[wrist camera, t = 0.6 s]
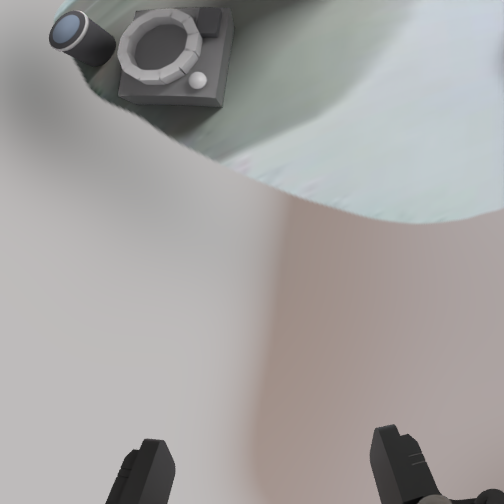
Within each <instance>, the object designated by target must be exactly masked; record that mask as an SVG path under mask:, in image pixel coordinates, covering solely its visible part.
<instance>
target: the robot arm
mask: <svg viewBox="0 0 504 504" xmlns="http://www.w3.org/2000/svg"><path fill="white" fill-rule="evenodd" d="M370 463H371V467H372V471H373V474H374V478H375V481H376V485H377V488H378V492H379V496H380V500H381V503H382V504H504V493H503V492H502V491H500V490H498V489H489V490H486V491H484V492H482V493H481V494H480V495H479V496H478V497H477V498H474V499H466V500H451V499H448V498H447V497H445V496H443V495H442V494H441V493H440V492H439V490H438V488H437V486H436V484H435V481H434V479H433V476H432V474H431V472H430V469H429V467H428V465H427V463H426V462H425V458H424V456H423V454H422V451H421V449H420V447H419V445H418V442H417V441H416V440H415V439H414V438H412V437H411V436H410V435H409V434H406V435H402V436H400V434H399V432H398V430H397V428H396V426H395V425H394V424H393V425H388V426H384V427H379V428H375V430H374V435H373V440H372V444H371V450H370ZM174 477H175V463H174V461H173V458H172V456H171V454H170V452H169V449H168V447H167V445H166V443H165V441H164V440H156V439H144V441H143V443H142V445H141V447H140V450H132V451H131V452H130V453H129V454H128V455H127V456H126V457H125V459H124V461H123V463H122V466H121V469H120V470H119V473H118V477H117V478H116V480H115V482H114V484H113V487H112V489H111V492H110V494H109V496H108V499H107V501H106V503H105V504H167V502H168V499H169V495H170V491H171V487H172V484H173V480H174Z"/></svg>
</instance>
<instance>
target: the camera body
mask: <svg viewBox="0 0 504 504" xmlns="http://www.w3.org/2000/svg"><path fill="white" fill-rule="evenodd" d="M234 29H235V26H234V22H233V17H232V13H231V8H211V7H195V8H167V9H152V10H141V11H136V12H135V16H134V20H133V22H132V23H131V24H130V26H129V27H128V28H127V29H126V31H125V32H124V33H123V34H122V36H123V37H121V39H120V43H119V48H118V52H117V54H118V55H117V56H118V59H119V61H120V64H121V67H122V74H121V79H120V85H119V90H118V97H121V98H123V99H125V100H127V101H129V102H132V103H134V104H159V105H190V106H208V107H222V108H223V100H224V93H225V86H226V80H227V73H228V66H229V60H230V53H231V47H232V41H233V35H234Z"/></svg>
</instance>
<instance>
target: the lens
mask: <svg viewBox="0 0 504 504" xmlns="http://www.w3.org/2000/svg"><path fill="white" fill-rule="evenodd" d="M49 42H50V45H51V47H52V48H54V49H56V50H58V51H62V52H64V53H66V54H68V55H70V56H72V57H74V58H76V59H78V60H80V61H82V62H84V63H86V64H88V65H90V66H99V65H102V64H104V63H105V62H106V61H108V60H109V59H110V57H111V56H112V55H113V53H114V51H115V47H116V42H115V39H114V37H113V36H111V35H110V34H109V33H108V32H106V31H105V30H104V29H102V28H101V27H100V26H99V25H97V24H96V23H95V22H93V21H92V20H91V19H89V18H88V17H87V15H86V14H84V13H83V12H81V11H70V12H68V13H66V14H64V15H63V16H61V17H60V18H59V19H58V20H57V21H56V22H55V24H54V25H53V27H52V29H51V31H50V35H49Z"/></svg>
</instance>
